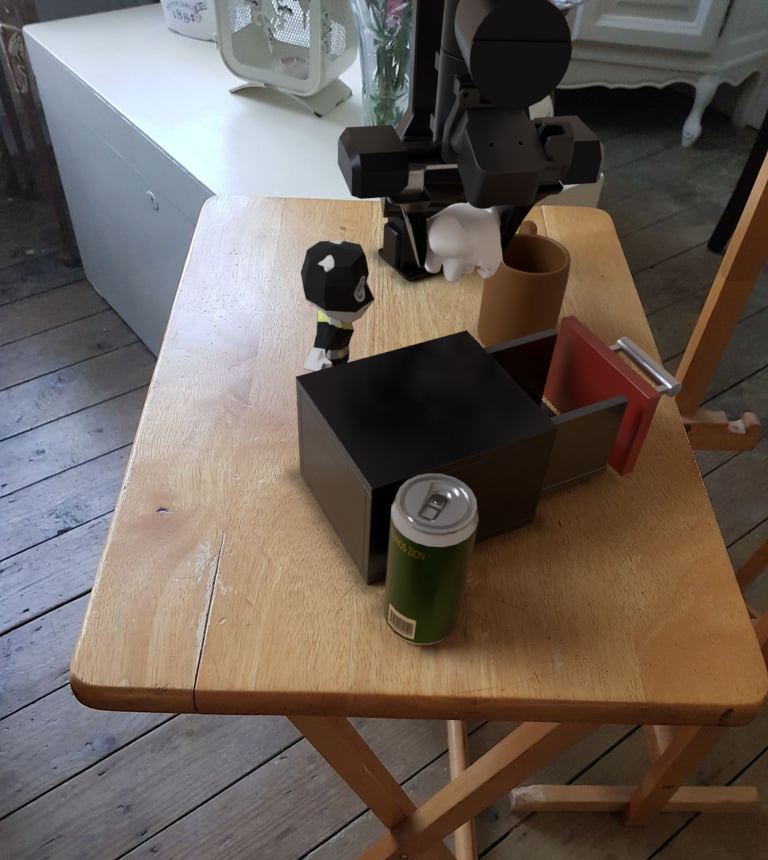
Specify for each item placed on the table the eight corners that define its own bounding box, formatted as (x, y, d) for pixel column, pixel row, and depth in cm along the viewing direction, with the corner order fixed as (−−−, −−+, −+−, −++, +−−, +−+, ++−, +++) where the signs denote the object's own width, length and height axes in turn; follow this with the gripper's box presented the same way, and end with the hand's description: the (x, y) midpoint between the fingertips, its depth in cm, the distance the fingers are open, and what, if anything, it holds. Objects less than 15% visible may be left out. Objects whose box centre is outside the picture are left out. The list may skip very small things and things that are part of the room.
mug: (479, 289, 87) (491, 205, 80) (550, 297, 86) (569, 213, 79) (474, 357, 79) (488, 270, 72) (553, 366, 78) (574, 279, 71)
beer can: (438, 662, 55) (458, 549, 47) (369, 628, 57) (375, 513, 48) (470, 606, 59) (495, 490, 50) (404, 576, 60) (416, 459, 51)
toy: (353, 453, 69) (356, 300, 58) (284, 441, 69) (274, 287, 58) (385, 359, 78) (393, 211, 67) (323, 349, 78) (321, 200, 67)
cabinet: (453, 425, 72) (466, 329, 64) (532, 522, 64) (558, 427, 57) (299, 474, 67) (295, 376, 59) (367, 585, 60) (371, 489, 52)
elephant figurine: (471, 309, 63) (481, 237, 58) (390, 271, 66) (394, 200, 61) (518, 275, 66) (532, 205, 62) (439, 240, 69) (447, 171, 65)
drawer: (596, 378, 76) (619, 301, 70) (678, 455, 69) (711, 378, 63) (423, 432, 70) (432, 353, 64) (494, 523, 63) (511, 444, 57)
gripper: (372, 102, 47) (365, 330, 58) (667, 89, 50) (605, 307, 62) (336, 36, 54) (336, 251, 66) (595, 29, 58) (552, 234, 69)
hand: (457, 261), depth 65 cm, fingers closed on elephant figurine, 6 cm apart
